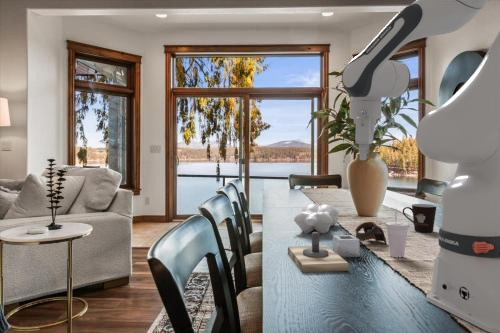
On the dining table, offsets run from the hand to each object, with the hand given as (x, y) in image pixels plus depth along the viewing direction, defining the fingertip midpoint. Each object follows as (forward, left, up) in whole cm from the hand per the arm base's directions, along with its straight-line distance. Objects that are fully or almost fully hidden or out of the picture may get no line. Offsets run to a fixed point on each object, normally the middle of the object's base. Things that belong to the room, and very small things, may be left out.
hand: (363, 159), depth 108 cm
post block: (-5, +16, -28) cm, 33 cm away
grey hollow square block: (+1, +5, -28) cm, 29 cm away
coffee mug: (+30, -36, -29) cm, 55 cm away
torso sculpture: (+36, +4, -29) cm, 46 cm away
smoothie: (-3, -9, -29) cm, 30 cm away
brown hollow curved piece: (+14, -9, -29) cm, 33 cm away
